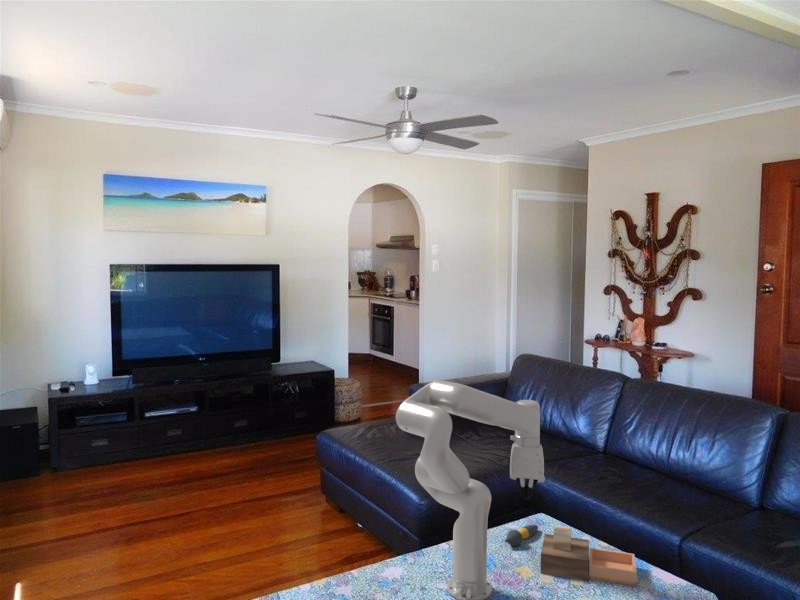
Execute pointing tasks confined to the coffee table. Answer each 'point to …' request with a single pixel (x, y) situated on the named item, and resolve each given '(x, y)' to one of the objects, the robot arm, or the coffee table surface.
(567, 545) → the beech block
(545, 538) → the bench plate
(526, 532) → the paintbrush
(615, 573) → the tray
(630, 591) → the coffee table surface
